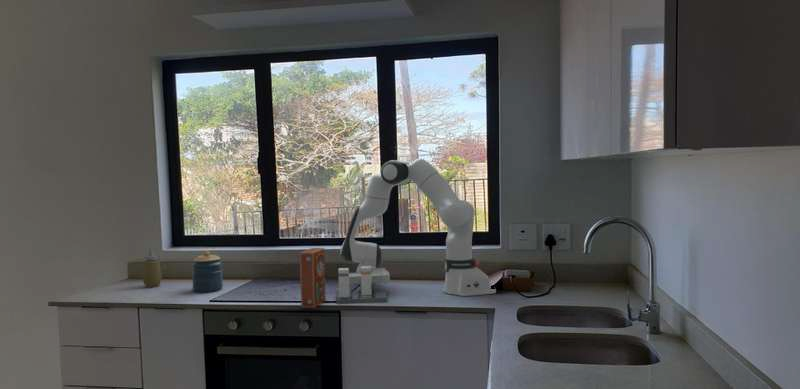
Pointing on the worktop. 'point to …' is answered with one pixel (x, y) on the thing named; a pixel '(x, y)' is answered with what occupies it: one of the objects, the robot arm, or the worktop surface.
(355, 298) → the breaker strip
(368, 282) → the breaker toggle
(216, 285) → the canister
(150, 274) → the squeeze bottle
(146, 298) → the worktop surface
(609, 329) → the worktop surface
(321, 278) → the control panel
